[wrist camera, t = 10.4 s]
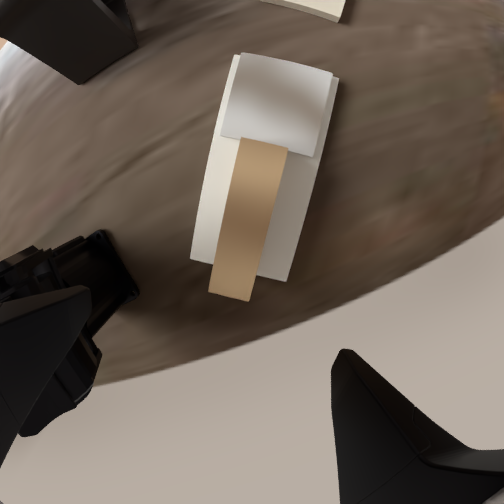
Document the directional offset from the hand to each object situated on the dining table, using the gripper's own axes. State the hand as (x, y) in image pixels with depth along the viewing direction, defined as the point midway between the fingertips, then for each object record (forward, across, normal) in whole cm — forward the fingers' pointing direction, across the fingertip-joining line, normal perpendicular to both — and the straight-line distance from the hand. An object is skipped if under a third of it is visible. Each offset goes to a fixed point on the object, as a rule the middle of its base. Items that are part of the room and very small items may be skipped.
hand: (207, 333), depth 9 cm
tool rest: (+12, 0, -5) cm, 13 cm away
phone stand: (+12, +16, -15) cm, 25 cm away
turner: (+11, 0, -5) cm, 12 cm away
